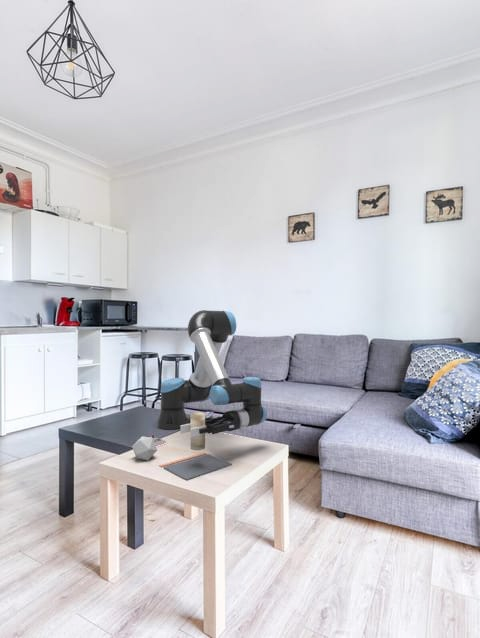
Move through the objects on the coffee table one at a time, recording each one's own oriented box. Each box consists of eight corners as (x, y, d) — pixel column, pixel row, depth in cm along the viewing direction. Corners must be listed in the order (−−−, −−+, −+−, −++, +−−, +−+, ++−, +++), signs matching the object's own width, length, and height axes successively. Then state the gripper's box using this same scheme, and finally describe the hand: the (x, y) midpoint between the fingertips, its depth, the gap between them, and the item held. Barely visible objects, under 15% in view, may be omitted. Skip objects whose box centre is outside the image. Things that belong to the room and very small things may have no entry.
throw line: (203, 453, 146) (203, 452, 146) (206, 454, 145) (206, 453, 145) (159, 466, 132) (159, 465, 132) (161, 467, 131) (161, 466, 131)
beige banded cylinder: (199, 444, 136) (199, 411, 136) (208, 448, 132) (207, 414, 132) (187, 447, 132) (187, 414, 132) (196, 451, 128) (195, 416, 128)
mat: (208, 454, 144) (208, 453, 144) (232, 464, 133) (232, 463, 133) (163, 468, 130) (163, 467, 130) (186, 480, 120) (186, 479, 120)
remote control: (158, 449, 151) (158, 442, 151) (134, 442, 161) (134, 435, 161) (170, 445, 157) (170, 438, 157) (146, 438, 166) (146, 432, 166)
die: (161, 458, 142) (155, 434, 146) (154, 454, 134) (148, 429, 139) (140, 466, 141) (135, 442, 146) (133, 463, 133) (127, 437, 138)
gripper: (251, 434, 138) (201, 448, 122) (219, 425, 151) (171, 436, 135) (251, 414, 138) (201, 425, 122) (219, 406, 151) (171, 415, 135)
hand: (185, 431), depth 129 cm, fingers closed on beige banded cylinder, 5 cm apart
